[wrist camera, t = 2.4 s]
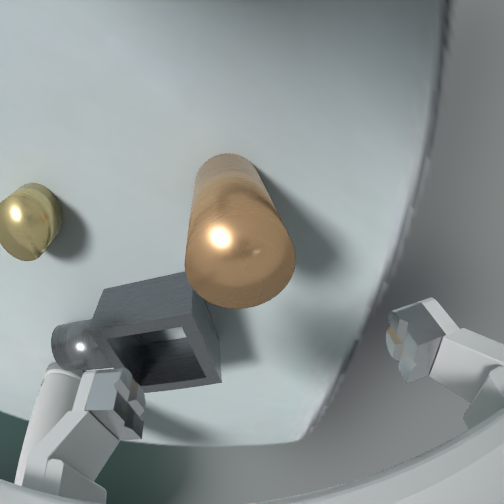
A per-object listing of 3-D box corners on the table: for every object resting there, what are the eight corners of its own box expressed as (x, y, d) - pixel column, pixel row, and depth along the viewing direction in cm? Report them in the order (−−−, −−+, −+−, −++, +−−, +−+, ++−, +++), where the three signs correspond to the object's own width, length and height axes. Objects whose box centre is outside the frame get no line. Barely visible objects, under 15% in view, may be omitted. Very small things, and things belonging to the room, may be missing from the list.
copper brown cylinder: (188, 162, 20) (170, 229, 11) (253, 147, 20) (288, 203, 11) (203, 220, 22) (202, 317, 13) (264, 207, 22) (300, 296, 14)
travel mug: (36, 363, 28) (-6, 515, 11) (75, 358, 28) (37, 533, 11) (66, 394, 31) (40, 535, 14) (105, 391, 31) (86, 549, 14)
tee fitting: (51, 300, 24) (31, 338, 19) (193, 269, 24) (191, 312, 20) (90, 358, 28) (80, 396, 24) (218, 339, 28) (221, 382, 24)
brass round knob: (4, 194, 18) (-15, 209, 16) (48, 173, 18) (29, 187, 16) (28, 247, 21) (12, 266, 18) (72, 232, 21) (57, 252, 19)
